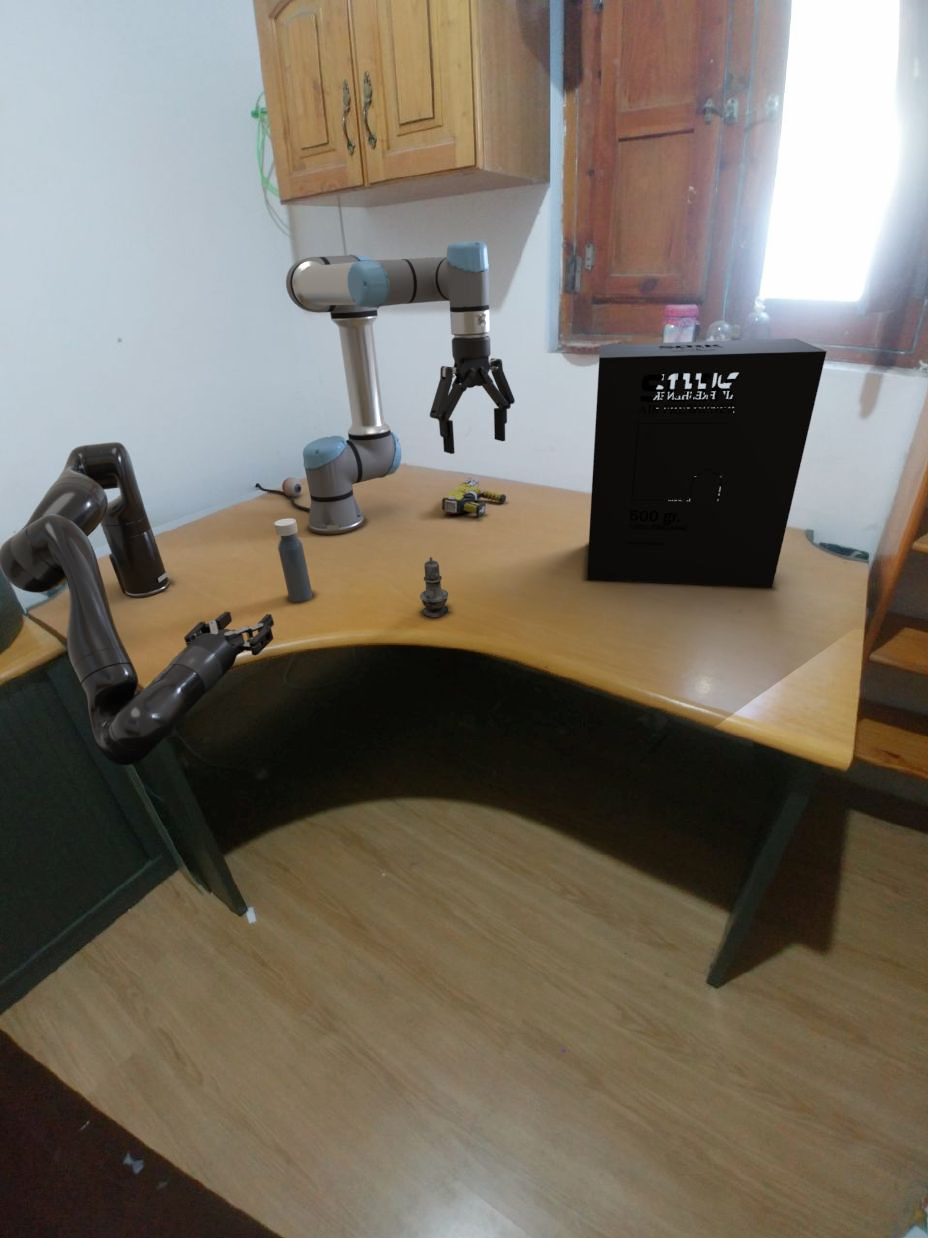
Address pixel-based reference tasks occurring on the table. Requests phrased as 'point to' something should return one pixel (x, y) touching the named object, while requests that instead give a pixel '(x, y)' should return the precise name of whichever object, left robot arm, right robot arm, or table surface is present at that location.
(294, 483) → the eyeball
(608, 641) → the table surface
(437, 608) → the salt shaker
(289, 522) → the cap
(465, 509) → the toy gun
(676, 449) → the cardboard box
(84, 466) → the left robot arm
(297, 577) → the bottle
